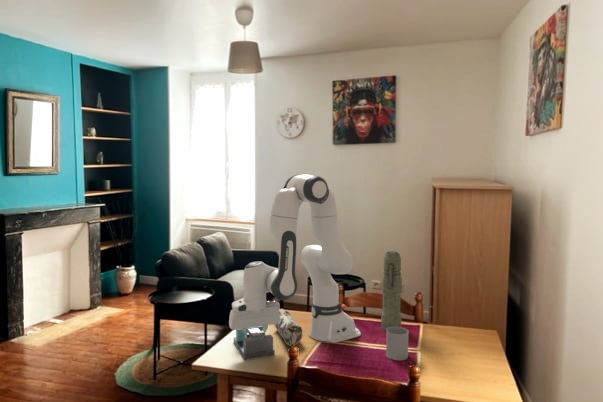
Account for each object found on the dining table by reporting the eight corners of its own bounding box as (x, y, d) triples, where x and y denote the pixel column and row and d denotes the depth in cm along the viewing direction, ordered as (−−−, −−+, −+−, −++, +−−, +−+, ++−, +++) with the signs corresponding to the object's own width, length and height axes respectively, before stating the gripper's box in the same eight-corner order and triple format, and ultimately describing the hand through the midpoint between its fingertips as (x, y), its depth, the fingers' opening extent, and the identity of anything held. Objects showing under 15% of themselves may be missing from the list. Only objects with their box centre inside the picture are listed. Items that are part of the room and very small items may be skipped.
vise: (261, 338, 187) (261, 322, 187) (274, 355, 171) (274, 337, 170) (233, 342, 183) (233, 326, 182) (244, 360, 166) (244, 342, 166)
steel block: (257, 342, 178) (257, 327, 178) (262, 347, 172) (262, 333, 172) (248, 343, 176) (248, 329, 176) (252, 349, 171) (252, 334, 170)
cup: (395, 362, 165) (395, 336, 164) (381, 353, 172) (382, 328, 171) (412, 357, 169) (413, 332, 168) (398, 349, 176) (399, 325, 175)
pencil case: (303, 345, 180) (303, 322, 179) (283, 348, 178) (283, 324, 177) (290, 327, 201) (290, 306, 200) (272, 328, 199) (272, 307, 198)
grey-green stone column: (401, 324, 204) (402, 250, 201) (401, 334, 192) (402, 255, 189) (381, 323, 206) (383, 249, 203) (380, 332, 194) (381, 254, 191)
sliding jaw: (261, 335, 184) (261, 323, 184) (263, 337, 182) (263, 326, 181) (236, 339, 180) (236, 327, 180) (237, 341, 178) (237, 329, 177)
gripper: (277, 297, 180) (277, 330, 181) (227, 303, 172) (228, 337, 173) (282, 302, 174) (282, 336, 175) (231, 308, 166) (231, 343, 167)
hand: (255, 337), depth 174 cm, fingers open, 5 cm apart
